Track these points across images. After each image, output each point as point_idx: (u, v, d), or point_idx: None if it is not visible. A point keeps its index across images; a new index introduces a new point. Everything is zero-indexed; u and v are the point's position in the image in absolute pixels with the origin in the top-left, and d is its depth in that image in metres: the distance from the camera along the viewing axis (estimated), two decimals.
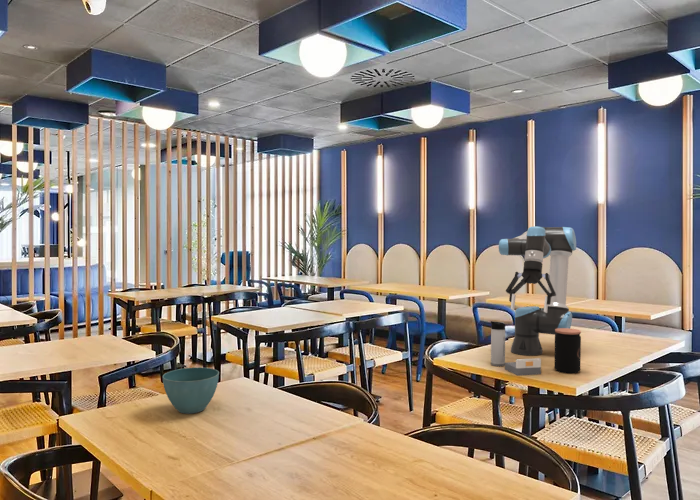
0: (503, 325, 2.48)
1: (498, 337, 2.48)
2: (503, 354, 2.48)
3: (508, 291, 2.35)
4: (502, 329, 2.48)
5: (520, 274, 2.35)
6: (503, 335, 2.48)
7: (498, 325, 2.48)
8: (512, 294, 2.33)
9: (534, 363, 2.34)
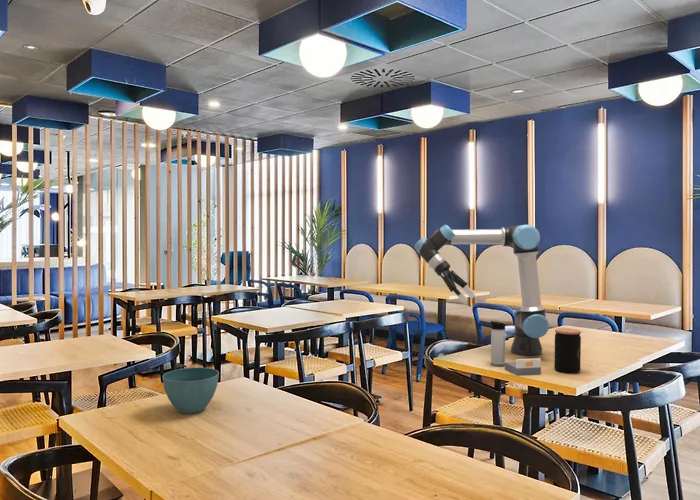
0: (503, 325, 2.48)
1: (498, 337, 2.48)
2: (503, 354, 2.48)
3: None
4: (502, 329, 2.48)
5: None
6: (503, 335, 2.48)
7: (498, 325, 2.47)
8: (463, 289, 2.66)
9: (534, 363, 2.34)
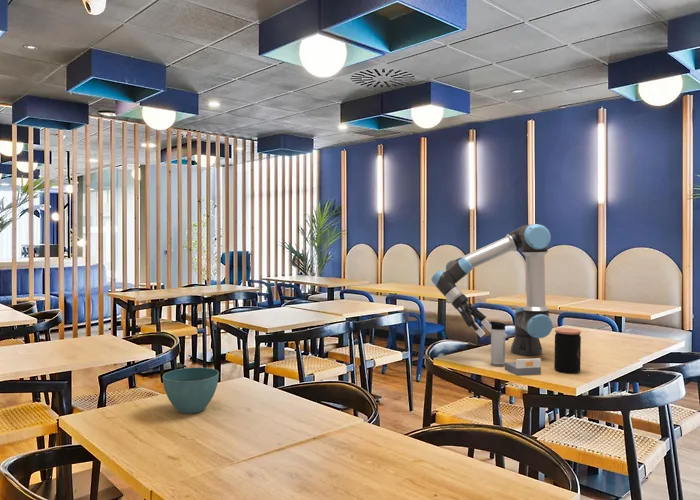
0: (503, 325, 2.48)
1: (498, 337, 2.48)
2: (503, 354, 2.48)
3: None
4: (502, 329, 2.48)
5: None
6: (503, 335, 2.48)
7: (498, 325, 2.48)
8: (481, 322, 2.61)
9: (534, 363, 2.34)
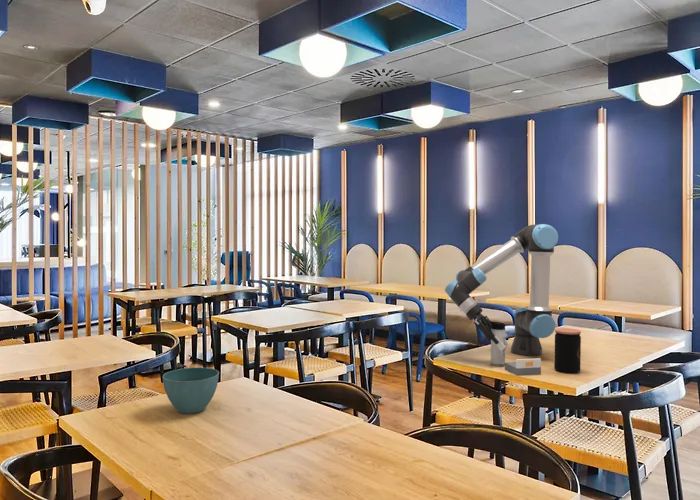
0: (503, 325, 2.48)
1: (498, 337, 2.47)
2: (503, 354, 2.48)
3: None
4: (502, 329, 2.48)
5: None
6: (503, 335, 2.48)
7: (498, 325, 2.47)
8: None
9: (534, 363, 2.34)
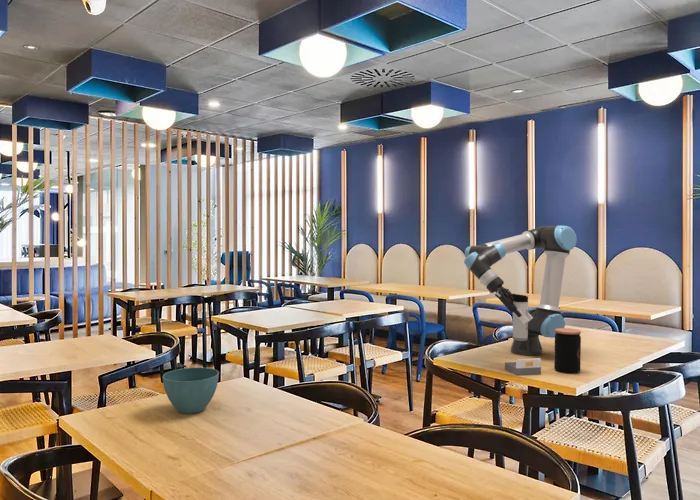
0: (526, 297, 2.36)
1: (521, 310, 2.36)
2: (526, 328, 2.37)
3: None
4: (525, 302, 2.36)
5: None
6: (526, 308, 2.36)
7: (521, 297, 2.36)
8: None
9: (534, 363, 2.34)
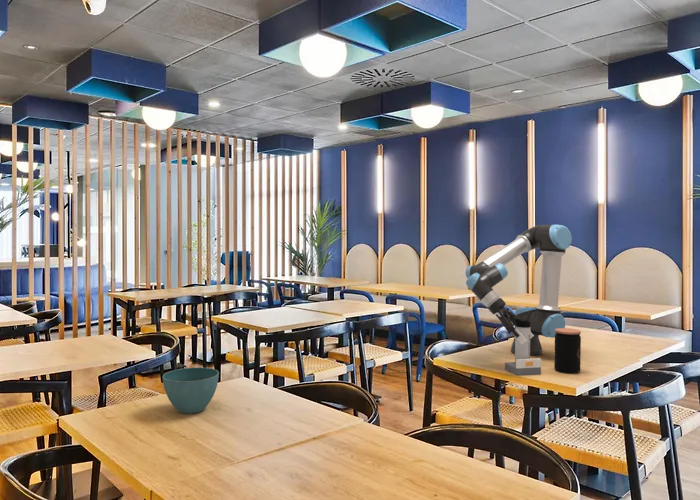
0: (528, 323, 2.36)
1: (523, 335, 2.36)
2: (528, 353, 2.36)
3: None
4: (527, 327, 2.36)
5: None
6: (528, 333, 2.36)
7: (523, 323, 2.35)
8: None
9: (534, 363, 2.34)
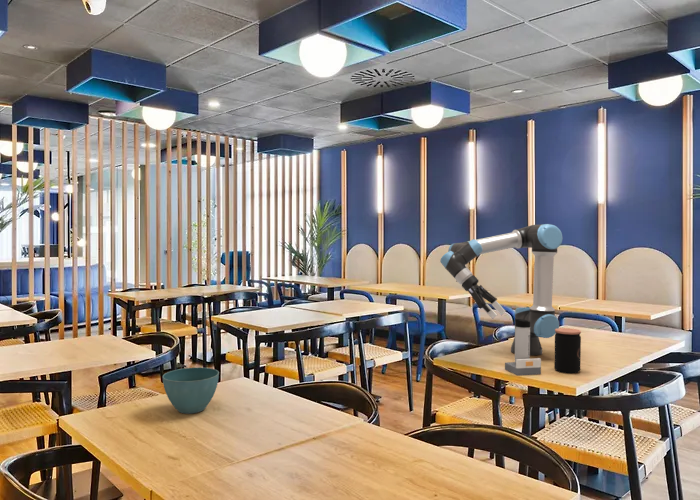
0: (528, 323, 2.36)
1: (523, 335, 2.36)
2: (528, 353, 2.37)
3: None
4: (527, 327, 2.36)
5: None
6: (528, 333, 2.36)
7: (523, 323, 2.36)
8: (492, 304, 2.53)
9: (534, 363, 2.34)
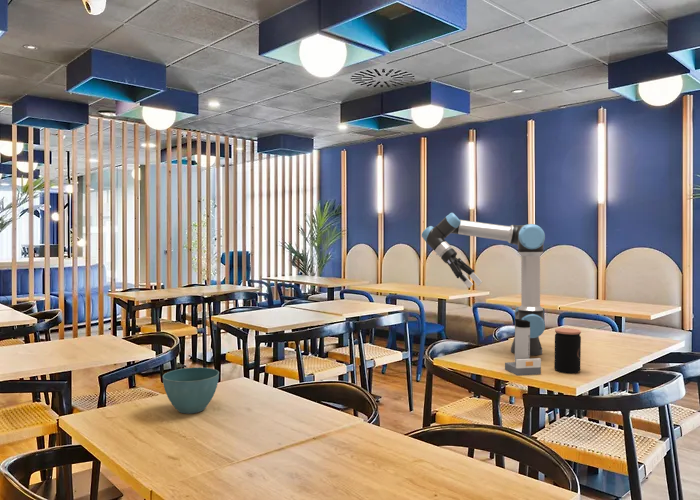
0: (528, 323, 2.36)
1: (523, 335, 2.36)
2: (528, 353, 2.36)
3: None
4: (527, 327, 2.36)
5: None
6: (528, 333, 2.36)
7: (523, 323, 2.36)
8: None
9: (534, 363, 2.34)
